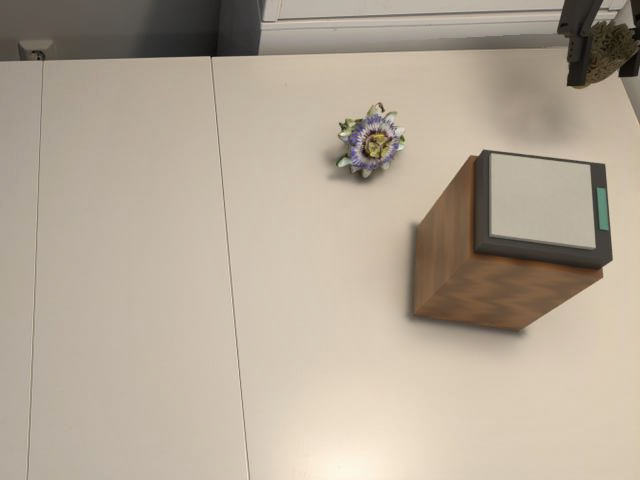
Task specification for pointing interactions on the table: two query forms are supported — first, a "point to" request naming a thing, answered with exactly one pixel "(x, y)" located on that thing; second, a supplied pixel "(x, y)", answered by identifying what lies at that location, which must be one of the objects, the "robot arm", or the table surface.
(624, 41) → the sea sponge
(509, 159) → the kitchen scale
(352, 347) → the table surface
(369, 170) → the passion flower
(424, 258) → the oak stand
